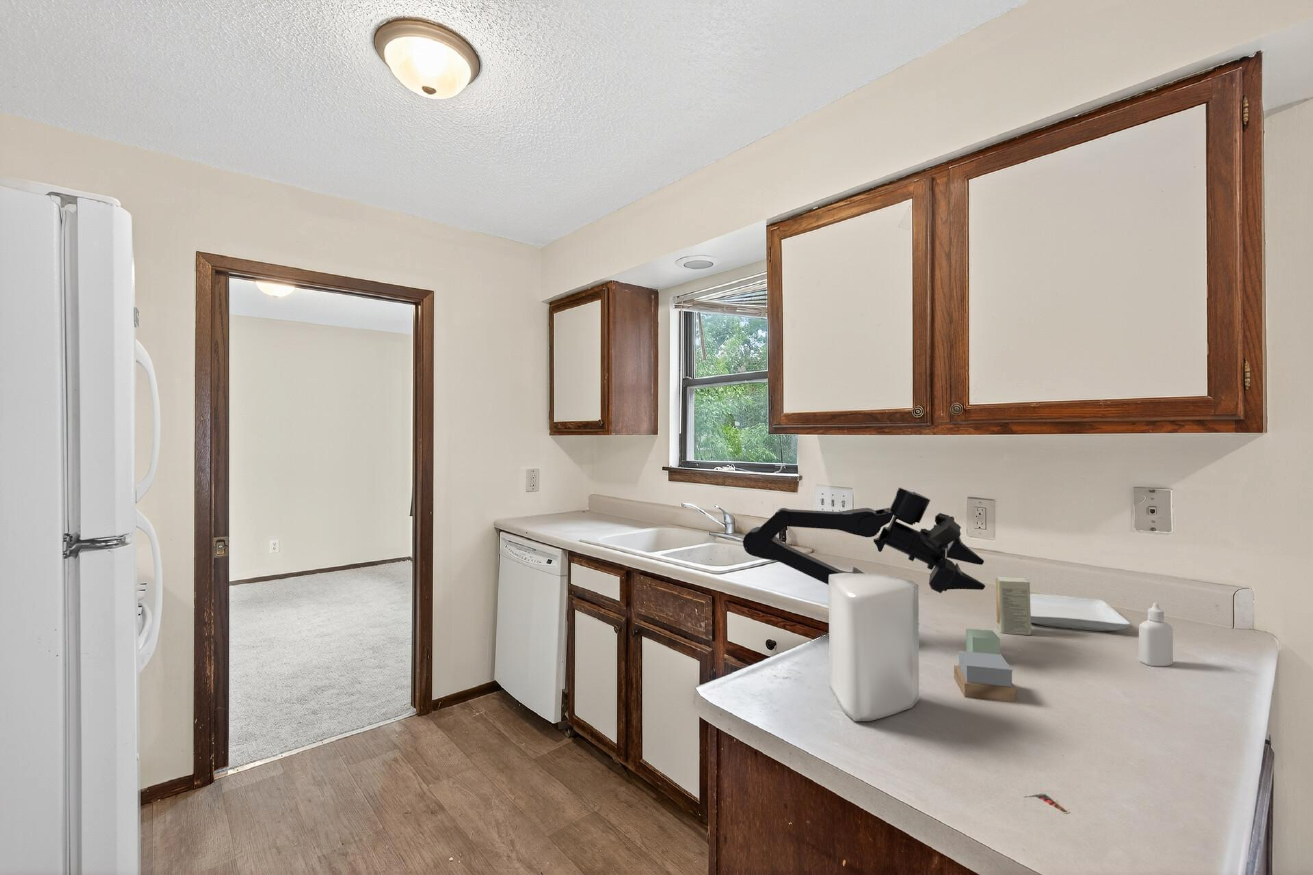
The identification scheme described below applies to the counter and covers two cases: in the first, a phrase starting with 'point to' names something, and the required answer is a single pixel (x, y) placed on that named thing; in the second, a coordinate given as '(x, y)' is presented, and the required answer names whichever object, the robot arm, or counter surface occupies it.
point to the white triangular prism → (873, 644)
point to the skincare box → (1013, 605)
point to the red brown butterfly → (1050, 801)
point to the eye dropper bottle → (1155, 639)
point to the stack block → (982, 641)
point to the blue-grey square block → (985, 669)
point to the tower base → (984, 689)
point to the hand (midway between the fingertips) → (983, 574)
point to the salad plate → (1075, 613)
